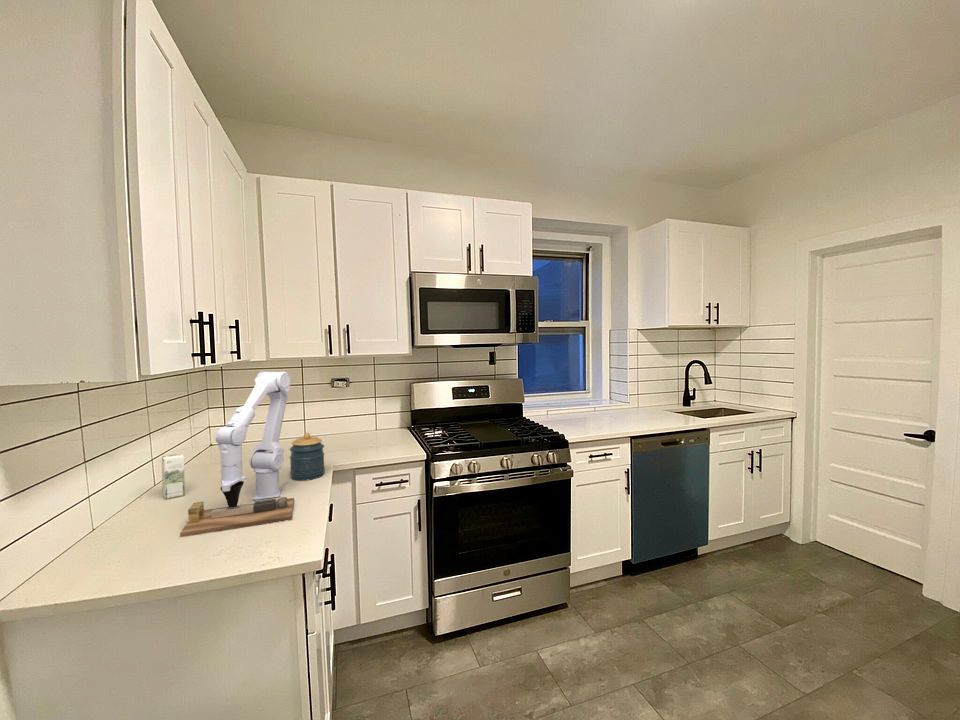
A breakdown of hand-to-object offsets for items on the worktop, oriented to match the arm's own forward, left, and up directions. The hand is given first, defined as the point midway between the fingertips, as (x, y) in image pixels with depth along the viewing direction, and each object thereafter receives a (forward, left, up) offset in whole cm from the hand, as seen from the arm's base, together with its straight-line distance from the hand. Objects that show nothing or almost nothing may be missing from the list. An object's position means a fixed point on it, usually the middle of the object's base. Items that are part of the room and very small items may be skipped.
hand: (232, 506), depth 128 cm
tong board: (+5, +4, -2) cm, 7 cm away
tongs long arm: (+5, +4, -1) cm, 7 cm away
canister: (-31, +21, -2) cm, 37 cm away
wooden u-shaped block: (+4, -9, -1) cm, 10 cm away
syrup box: (-26, -22, -2) cm, 34 cm away
